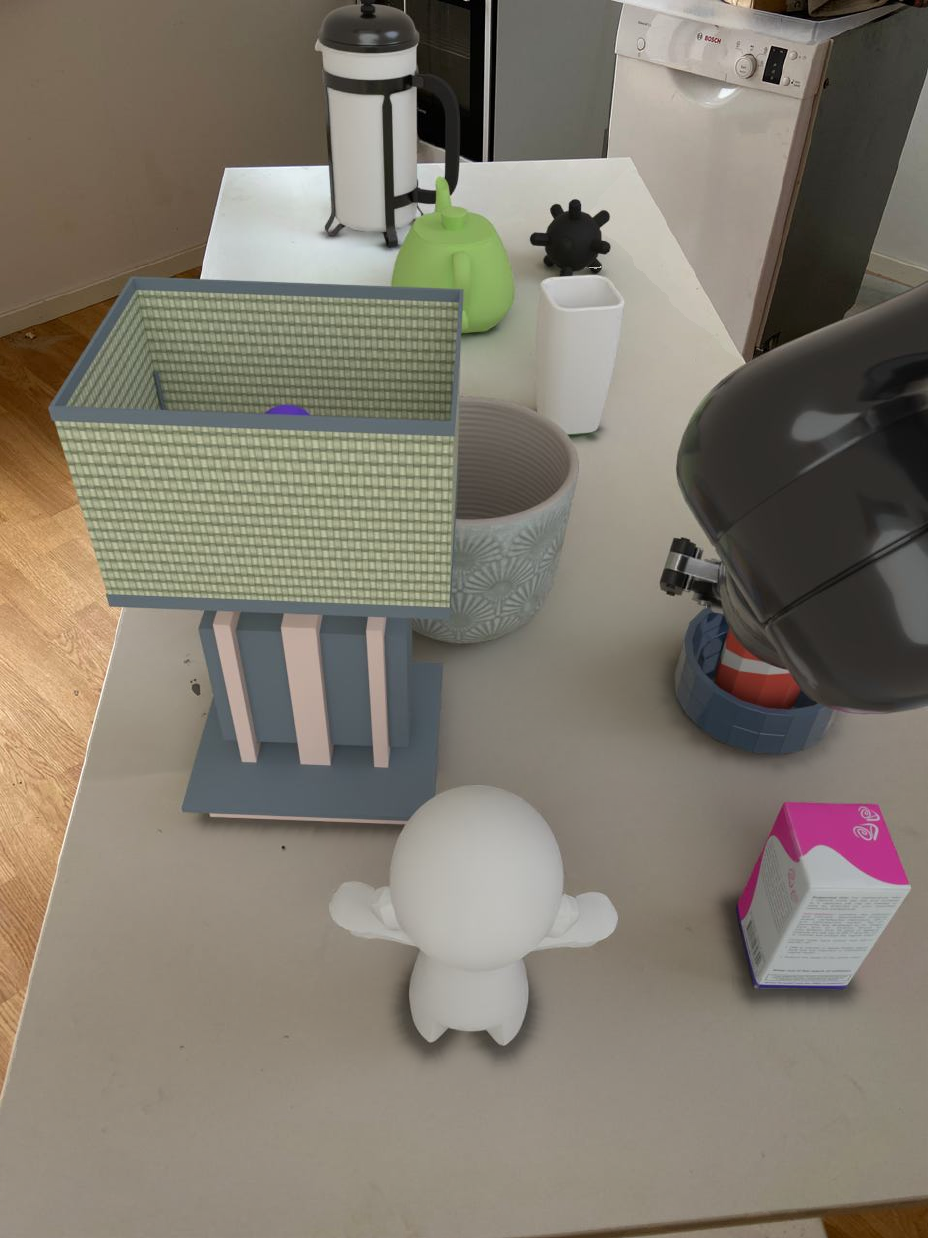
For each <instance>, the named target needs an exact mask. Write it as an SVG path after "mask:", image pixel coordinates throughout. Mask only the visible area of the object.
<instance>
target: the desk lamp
mask: <svg viewBox="0 0 928 1238" xmlns="http://www.w3.org/2000/svg"><path fill="white" fill-rule="evenodd" d="M463 291H464V289H444V288H418V287H392V286H391V285H390V286H388V285H365V284H364V285H363V284H339V283H337V284H336V283H310V282H309V283H308V282H287V281H283V282H282V281H260V280H259V281H258V280H237V279H236V280H234V279H233V280H232V279H211V278H209V279H208V278H206V279H205V278H184V277H183V278H181V277H180V278H179V277H176V278H175V277H155V276H130V277H129V279H128V281H127V282H126V284H125V285H124V287H123V289H122V290H121V291H120V293H119V295H118V296H117V298H116V300H115V301H114V303H113V304H112V305H111V307H110V308H109V311H108V312H107V314H106V315H105V316H104V318H103V320H102V321H101V323H100V324H99V326H98V328H97V329H96V331H95V333H94V334H93V336H92V338H91V339H90V341H89V342H88V344H87V346H86V347H85V349H83V351H82V354H81V355H80V357H79V359H78V360H77V361H76V363H75V365H74V366H73V367H72V369H71V371H70V372H69V374H68V376H67V377H66V379H65V380H64V381H63V384H62V385H61V387H60V388H59V389H58V391H57V393H56V395H55V396H54V398H53V399H52V401H51V403H50V405H49V406H48V408H47V409H48V412H49V416H50V419H51V421H52V422H54V425H55V427H56V428H55V429H56V431H57V435H58V437H59V441H60V444H61V448H62V451H63V454H64V457H65V460H66V461H65V462H66V463H67V467H68V470H69V474H70V477H71V480H72V483H73V487H74V489H75V493H76V496H77V500H78V503H79V506H80V509H81V513H82V516H83V519H84V522H85V525H86V529H87V532H88V536H89V538H90V542H91V546H92V548H93V551H94V552H93V553H94V555H95V558H96V562H97V565H98V569H99V571H100V574H101V577H102V581H103V585H104V587H105V591H106V594H105V597H106V601H107V603H108V606H109V608H110V607H111V608H133V609H158V610H159V609H160V610H184V611H185V610H187V611H203V612H202V616H201V619H200V622H199V625H198V628H197V629H198V634H199V638H200V643H201V647H202V651H203V656H204V660H205V665H206V669H207V673H208V679H209V683H210V686H211V690H212V695H213V696H212V699H211V703H210V707H209V710H208V713H207V717H206V721H205V724H204V727H203V731H202V734H201V738H200V742H199V745H198V748H197V752H196V756H195V759H194V763H193V766H192V769H191V773H190V777H189V779H188V783H187V787H186V790H185V794H184V798H183V801H182V805H181V812H182V813H186V814H187V813H189V814H191V813H192V814H209V817H210V818H229V819H230V818H231V819H232V818H233V819H254V820H255V819H256V820H257V819H260V820H283V821H307V822H311V821H312V822H335V823H360V824H383V825H385V824H387V825H406V823H407V822H408V820H409V819H410V818H411V817H412V816H413V814H414V813H415V812H416V811H417V810H418V809H419V808H420V807H421V806H422V805H424V804H425V803H426V802H427V801H429V800H430V799H432V798H433V797H435V796H436V783H437V769H438V768H437V767H438V751H439V734H440V733H439V732H440V718H441V716H440V715H441V703H442V702H441V701H442V699H441V698H442V683H443V667H444V663H441V662H416V661H413V630H412V618H414V619H440V620H450V617H451V599H452V581H453V562H454V544H455V526H456V507H457V489H458V469H459V462H458V428H459V396H460V390H461V388H460V387H461V385H460V384H461V382H460V381H461V354H462V353H461V351H462V350H461V349H462V333H461V329H462V313H463Z"/></svg>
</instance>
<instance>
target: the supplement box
mask: <svg viewBox="0 0 928 1238" xmlns="http://www.w3.org/2000/svg"><path fill="white" fill-rule="evenodd" d="M911 890H912V886H911V883H910V882H909V879H908V875H907V874H906V872H905V869H904V866H903V863H902V861H901V859H900V856H899V854H898V851H897V849H896V846H895V844H894V841H893V839H892V837H891V833H890V830H889V828H888V826H887V824H886V820H885V818H884V815H883V813H882V810H881V808H880V805H879V804H878V803H834V802H832V803H830V802H806V801H805V802H804V801H803V802H802V801H784V802H783V803H782V805H781V807H780V810H779V812H778V814H777V816H776V819H775V820H774V823H773V824H772V827H771V829H770V831H769V834H768V836H767V838H766V840H765V843H764V844H763V847H762V850H761V852H760V854H759V855H758V858H757V860H756V862H755V864H754V866H753V869H752V871H751V873H750V876H749V877H748V880H747V883H746V884H745V886H744V889H743V891H742V893H741V895H740V898H739V899H738V901H737V904H736V905H735V912H736V915H737V920H738V924H739V925H738V926H739V929H740V934H741V938H742V942H743V947H744V949H745V950H744V951H745V954H746V959H747V962H748V966H749V967H748V968H749V971H750V975H751V980H752V984H753V988H754V989H767V990H771V989H772V990H773V989H775V990H776V989H777V990H778V989H785V990H786V989H787V990H788V989H791V990H793V989H794V990H795V989H797V990H798V989H800V990H806V989H807V990H844V989H846V988H847V986H848V985H849V983H851V980H852V979H853V978H854V976H855V974H856V973H857V971H858V970H859V968H860V967H861V965H862V964H863V963H864V961H865V960H866V958H867V956H868V955H869V954H870V952H871V950H872V949H873V947H874V946H875V944H876V942H877V941H878V939H879V938H880V937H881V936H882V933H883V932H884V931H885V929H886V928H887V926H888V925H889V923H890V921H891V920H892V919H893V917H894V915H895V914H896V913H897V911H898V909H899V908H900V907H901V905H902V903H903V902H904V900H905V899H906V897H907V896H908V895H909V893H910V891H911Z"/></svg>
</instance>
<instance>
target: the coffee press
mask: <svg viewBox="0 0 928 1238" xmlns="http://www.w3.org/2000/svg"><path fill="white" fill-rule="evenodd" d="M359 1H360V2H361V3H360V4H349V5H344V6H340V7H338V8H336V9H333V10H332V11H330V12H329V13H328V14H327V15H325V17H324V19H323V21H322V23H321V28H320V29H319V30H318V31H317V37H318V38H317V40H316V42H315V46H314V51H316V52H321V54H322V63H321V79H322V83H323V98H324V99H323V101H324V111H325V112H324V116H325V129H326V143H327V145H326V147H327V161H328V176H329V192H330V193H329V194H330V215H329V218H328V219H327V221H326V223H325V225H324V231H325V233H327V235H328V236H329V237H335V236H336V235H338V234H339V232H340V231H341V230H342V229H344V228H346V227H347V228H348V229H351V230H355V231H358V232H364V233H365V232H366V233H382V235H383V239H384V242H385V245H386V247H387V248H394V247H398V245H399V238H398V234H397V230H399V229H402V228H404V227H406V226H408V225H409V224H410V223H411V222H413V221H414V222H415V220H416V219H415V217H416V215H417V212H418V211H419V213H420V216H422V215H424V214H425V213H424V212H423V211H422V210H421V208H420V207H419V204H424V205H436V189H425V188H420V187H419V179H418V111H417V110H418V107H417V106H418V102H417V100H418V98H417V97H418V95H417V91H418V90H417V89H418V88H419V89H424V91H428V92H431V93H433V94H434V95H436V96H437V97H438V99H439V100H440V102H441V104H442V106H443V110H444V118H445V119H444V122H445V126H444V127H445V129H444V130H445V133H444V134H445V137H444V178H445V180H446V181H447V183H448V186H449V192H450V197H451V196H452V195H453V193H455V190H456V188H457V186H458V182H459V176H460V160H461V159H460V158H461V157H460V156H461V112H460V106H459V101H458V99H457V95H456V93H455V91H454V90H453V88H452V87H451V85H450V84H449V83H448V82H447V81H446V80H445V79H443V78H441V77H439V76H437V75H435V74H432V73H425V74H424V73H419V64H418V63H417V47H418V45H419V43H420V32H419V31H418V30H417V28H416V26H415V23H414V21H413V19H412V18H411V17H410V16H409V14H407V13H406V12H404V10H401V9H399V8H396V7H393V6H389V5H383V4H375V1H376V0H359ZM335 219H336V220H337V221H338V222H339V223H338V224H337V225H336V226H335V227H334V228H333V230H331V231H329V230H330V228H331V226H332V225H333V223H334V220H335Z"/></svg>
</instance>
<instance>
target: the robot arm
mask: <svg viewBox="0 0 928 1238" xmlns="http://www.w3.org/2000/svg"><path fill="white" fill-rule="evenodd" d="M676 454H677V455H676V464H675V465H676V466H675V471H676V472H675V473H676V479H677V484H678V487H679V490H680V493H681V494H682V497H683V500H684V502H685V503H686V505H687V507H688V508H689V510H690V512H691V514H692V515H693V517H694V519H695V520H696V522H697V524H698V525H699V527H700V529H701V530H702V531H703V533H704V535H705V536H706V538H707V539H708V541H709V543H710V545H711V546H713V547H714V549H715V550H714V551H715V552H716V554H717V556H718V557H719V559H720V560H719V559H717V558H711V559H708V558H704V560H702V557H703V554H704V551H705V549H704V548H702V547H698V546H697V544H696V543H695V542H692V541H691V539H689V538H687V537H683V536H681V537H680V538H678V537H672V538H673V539H672V541H671V545H670V547H669V551H668V554H667V556H666V557H667V558H666V560H665V564H664V567H663V570H662V573H661V576H660V579H659V589H660V590H661V591H663V592H665V594H666V595H668V596H672V597H675V596H682V595H683V592H686V593H691V592H693V595H692V598H691V600H692V601H695V602H697V605H699V606H701V607H702V606H703V607H706V608H707V607H708V608H711V610H712V612H714V613H717V614H720V615H723V616H725V619H726V622H727V624H728V626H729V628H730V630H731V632H732V633H733V635H734V636H735V638H736V639H737V640H738V642H739V643H740V644H741V645H742V646H743V647H744V648H745V649H746V650H747V651H748V652H749V653H751V654H752V655H753V656H755V657H756V658H758V659H759V660H761V661H763V662H765V663H767V664H769V665H772V666H775V667H778V668H781V669H785V670H788V671H789V673H790V674H791V676H792V678H793V679H794V681H795V682H796V684H797V685H798V686H799V688H800V689H801V690H802V692H803V693H804V694H805V695H806V696H808V697H809V698H810V699H812V700H813V701H815V702H817V703H819V704H821V705H823V706H825V707H827V708H830V709H833V710H837V711H838V712H841V713H847V714H855V715H886V714H887V715H888V714H895V713H902V712H909V711H915V710H918V709H922V708H927V707H928V279H927V280H926V281H924V282H922V283H920V284H918V285H916V286H913V287H912V288H910V289H907V290H906V291H904V292H901V293H899V294H897V295H894V296H892V297H890V298H888V299H886V300H884V301H881V302H878V303H876V304H875V305H873V306H871V307H869V308H865V309H864V310H861V311H858V312H856V313H853V314H851V315H849V316H847V317H844V318H842V319H840V320H837V321H835V322H832V323H830V324H827V325H825V326H823V327H821V328H818V329H815V330H813V331H810V332H809V333H806V334H803V335H801V336H800V337H797V338H795V339H792V340H790V341H788V342H785V343H783V344H781V345H779V346H777V347H774V348H772V349H771V350H769V351H766V352H764V353H763V354H760V355H759V356H757V357H755V358H753V359H751V360H749V361H747V362H745V363H743V364H742V365H741V366H739V367H737V368H736V369H734V370H733V371H731V372H730V373H728V375H726V376H725V377H724V378H722V379H721V380H720V381H719V382H718V383H717V384H716V385H715V386H713V388H711V389H710V391H708V393H707V394H706V395H705V396H704V398H703V399H702V400H701V401H700V402H699V404H698V405H697V407H696V408H695V410H694V411H693V413H692V414H691V417H690V418H689V420H688V423H687V425H686V427H685V430H684V432H683V434H682V435H681V439H680V442H679V446H678V450H677V453H676Z"/></svg>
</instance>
